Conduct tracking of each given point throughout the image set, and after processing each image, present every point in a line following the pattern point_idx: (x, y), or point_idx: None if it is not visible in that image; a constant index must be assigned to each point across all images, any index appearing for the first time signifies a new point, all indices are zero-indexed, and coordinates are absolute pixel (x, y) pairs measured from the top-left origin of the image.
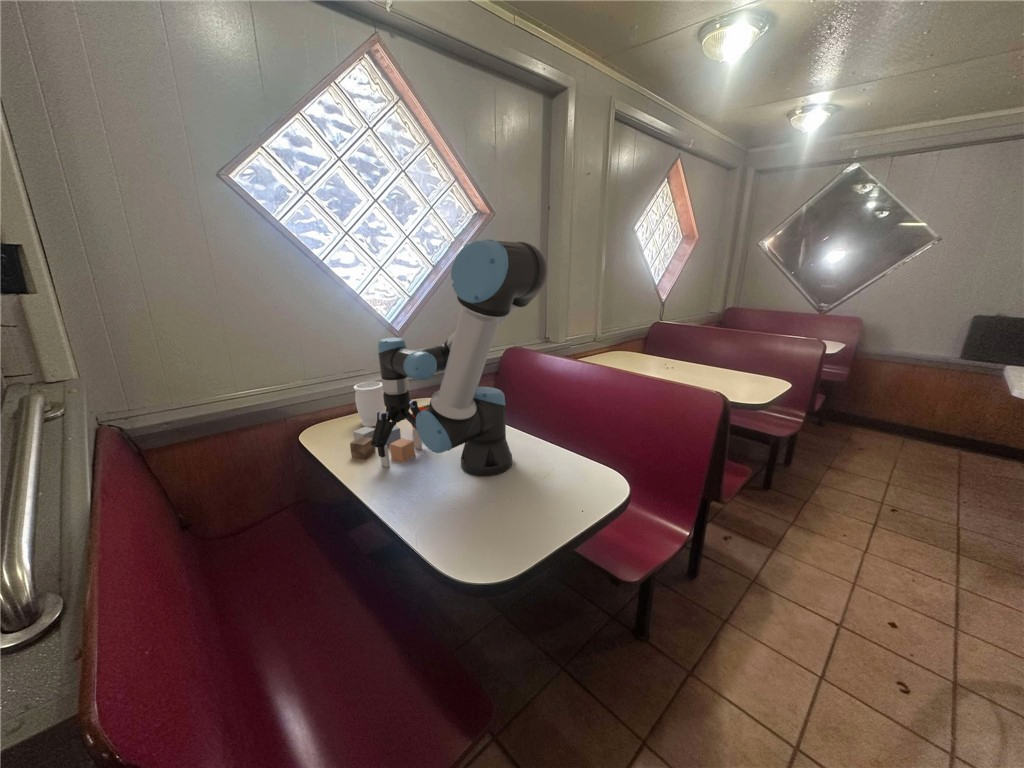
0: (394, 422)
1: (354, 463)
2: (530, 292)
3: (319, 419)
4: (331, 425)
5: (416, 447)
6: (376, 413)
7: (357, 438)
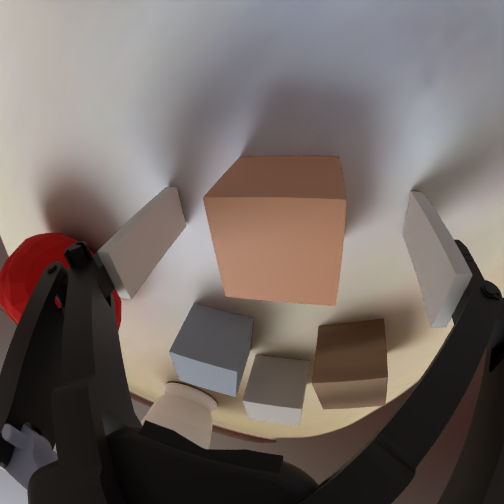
0: (381, 494)
1: (420, 326)
2: None
3: (254, 439)
4: (258, 429)
5: (181, 213)
6: (179, 416)
7: (340, 408)
